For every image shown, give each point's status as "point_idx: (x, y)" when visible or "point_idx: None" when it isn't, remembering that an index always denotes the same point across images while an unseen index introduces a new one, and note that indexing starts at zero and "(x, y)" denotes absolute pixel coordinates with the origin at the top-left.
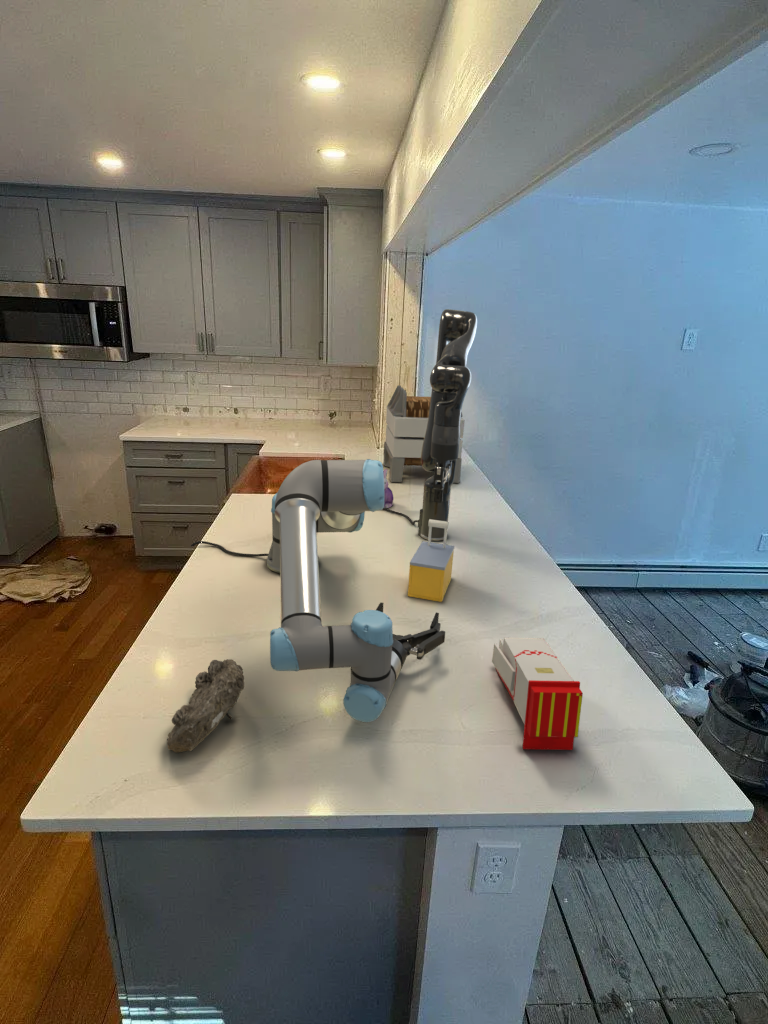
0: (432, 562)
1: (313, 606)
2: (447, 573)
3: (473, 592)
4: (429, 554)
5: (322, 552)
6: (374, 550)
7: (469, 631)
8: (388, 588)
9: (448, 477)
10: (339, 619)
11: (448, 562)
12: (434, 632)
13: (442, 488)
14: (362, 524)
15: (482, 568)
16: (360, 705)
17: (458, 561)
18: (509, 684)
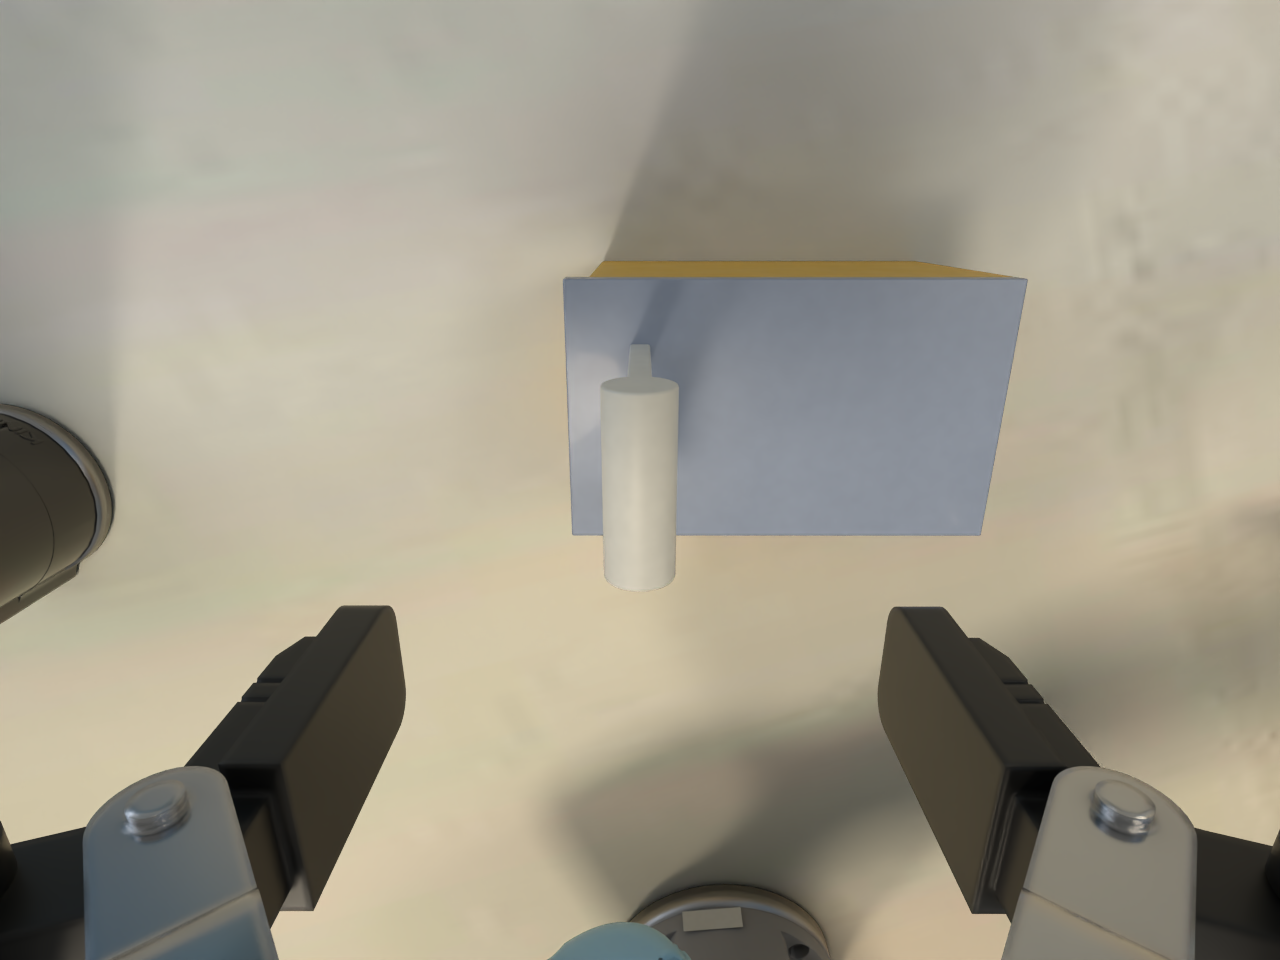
0: (953, 387)
1: None
2: (813, 269)
3: (736, 83)
4: (811, 437)
5: (556, 906)
6: (419, 727)
7: (1229, 35)
8: (829, 558)
9: (252, 873)
10: (1168, 666)
11: (833, 276)
12: None
13: (1178, 814)
14: (670, 956)
15: (349, 70)
16: None
17: (322, 259)
18: None
